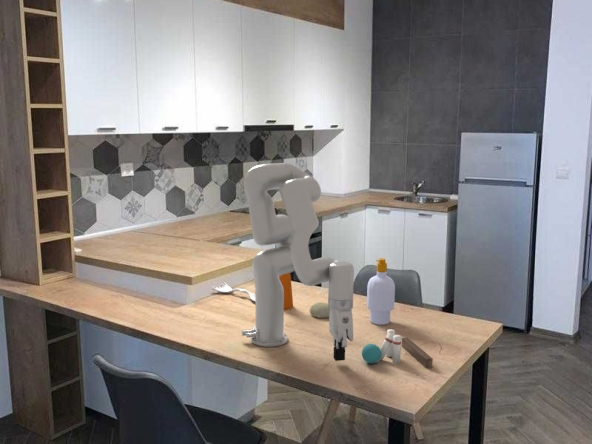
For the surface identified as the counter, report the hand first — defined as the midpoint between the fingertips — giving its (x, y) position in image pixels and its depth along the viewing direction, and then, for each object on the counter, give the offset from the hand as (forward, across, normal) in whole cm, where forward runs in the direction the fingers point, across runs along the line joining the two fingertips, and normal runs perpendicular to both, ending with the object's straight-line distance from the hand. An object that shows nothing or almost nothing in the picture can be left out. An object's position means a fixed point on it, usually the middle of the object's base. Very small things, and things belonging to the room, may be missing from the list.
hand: (339, 359), depth 183 cm
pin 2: (+2, -2, -18) cm, 18 cm away
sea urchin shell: (+2, +45, -8) cm, 46 cm away
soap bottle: (+2, +33, -27) cm, 43 cm away
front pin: (+1, 0, -13) cm, 13 cm away
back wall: (+2, 0, -26) cm, 26 cm away
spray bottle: (+2, +56, +5) cm, 56 cm away
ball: (-2, -1, -10) cm, 10 cm away
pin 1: (+2, +2, -18) cm, 18 cm away
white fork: (+2, +74, +18) cm, 77 cm away
